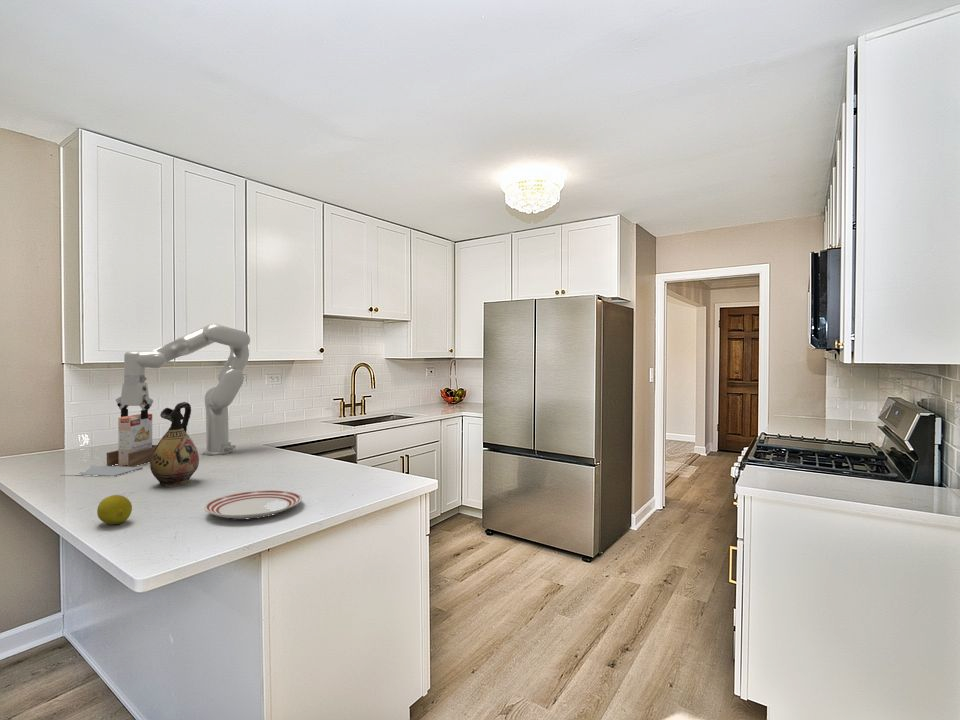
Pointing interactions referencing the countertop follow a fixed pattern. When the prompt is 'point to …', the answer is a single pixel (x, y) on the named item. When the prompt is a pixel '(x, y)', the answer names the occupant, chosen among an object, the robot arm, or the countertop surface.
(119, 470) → the mat
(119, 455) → the cracker box
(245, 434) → the countertop surface
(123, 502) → the lemon
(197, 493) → the countertop surface
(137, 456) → the holder
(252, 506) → the dinner plate
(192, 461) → the ceramic jug
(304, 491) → the countertop surface
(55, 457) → the countertop surface
